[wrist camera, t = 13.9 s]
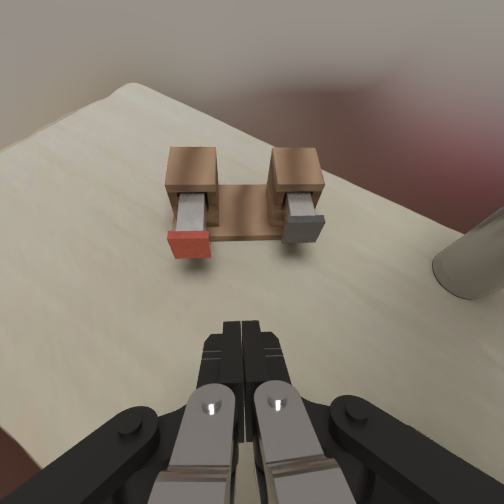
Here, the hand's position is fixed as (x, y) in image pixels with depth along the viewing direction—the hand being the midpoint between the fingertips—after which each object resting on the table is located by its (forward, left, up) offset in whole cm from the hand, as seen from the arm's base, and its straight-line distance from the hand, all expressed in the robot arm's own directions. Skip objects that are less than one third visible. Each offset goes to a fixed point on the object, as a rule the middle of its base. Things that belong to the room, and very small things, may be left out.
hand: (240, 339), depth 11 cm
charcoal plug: (-10, -26, -22) cm, 36 cm away
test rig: (-2, -29, -27) cm, 40 cm away
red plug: (+6, -24, -22) cm, 33 cm away
